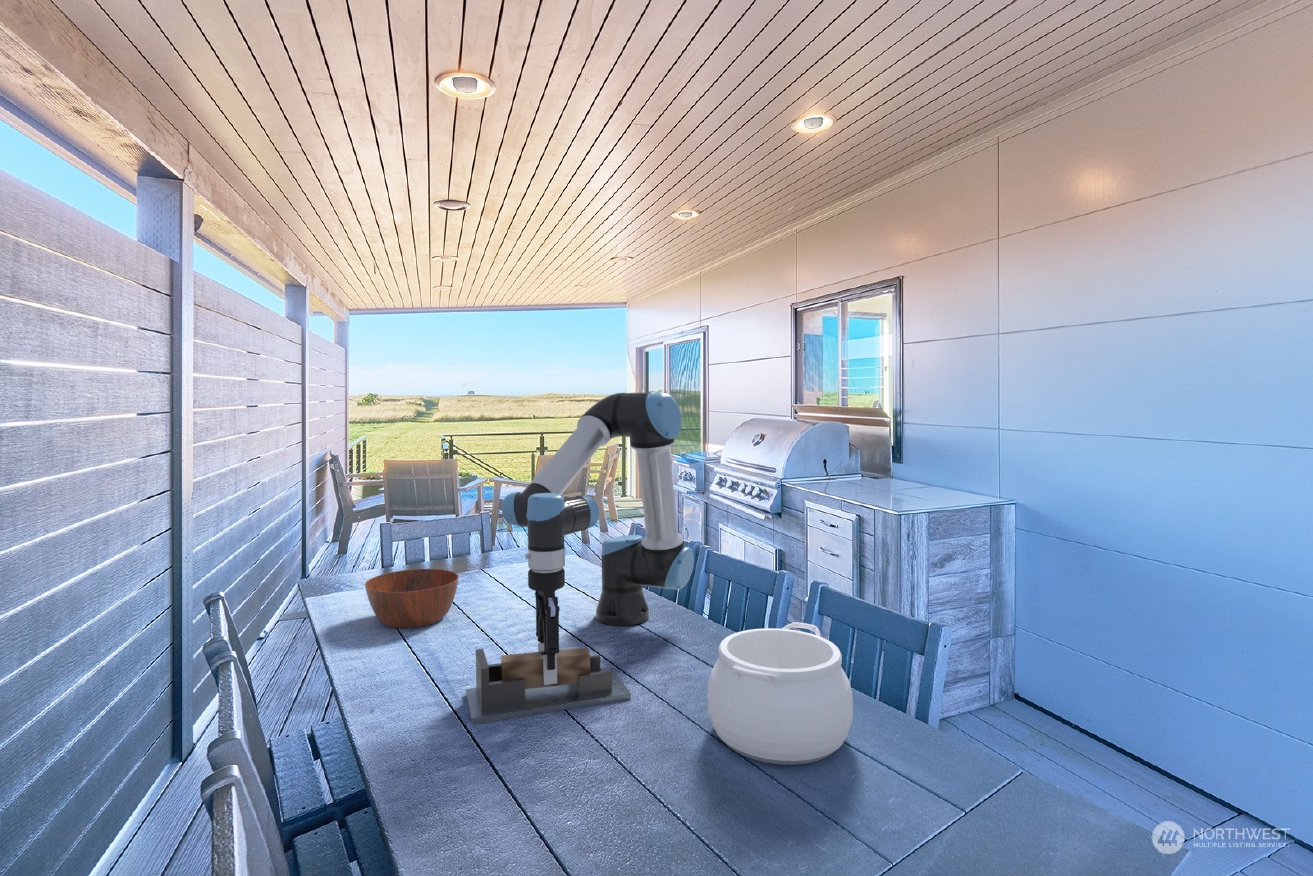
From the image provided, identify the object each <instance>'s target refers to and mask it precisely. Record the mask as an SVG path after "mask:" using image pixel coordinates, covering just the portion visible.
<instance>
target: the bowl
mask: <svg viewBox="0 0 1313 876" xmlns="http://www.w3.org/2000/svg"><path fill="white" fill-rule="evenodd" d="M459 578H460V577H459V573H456V572H455V571H452V570H448V569H440V568H413V569H405V570H397V571H392V572H391V571H390V572H387V573H384V574H383V573H382V574H379V575H377V576H374V577H371V578H370V579H368V580H367V581H366V582H365V583H364V588H365V592H366V596H367V599H368V601H369V604H370V607H371V609H372V611H373V613H374V614H375V617H376V618H377V619H378V621H379V622H380V623H381V624H383V625H385V626H386V627H389V628H393V629H394V628H395V629H412V628H413V629H414V628H421V627H425V626H429V625H432V624H435V623H437V622H439V621H441V620H442V619H443V618H445V616H447V614H448V612H449V611H450V609H451V608H452V605H453V603H454V600H455V596H456V593H457V588H458V584H459V583H458V582H459Z"/></svg>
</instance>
